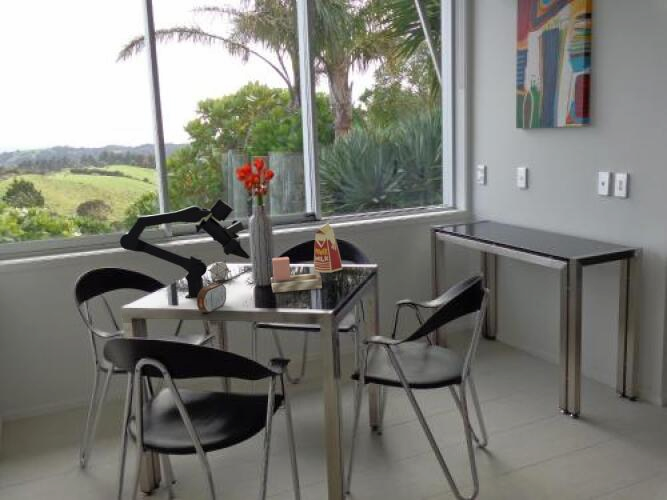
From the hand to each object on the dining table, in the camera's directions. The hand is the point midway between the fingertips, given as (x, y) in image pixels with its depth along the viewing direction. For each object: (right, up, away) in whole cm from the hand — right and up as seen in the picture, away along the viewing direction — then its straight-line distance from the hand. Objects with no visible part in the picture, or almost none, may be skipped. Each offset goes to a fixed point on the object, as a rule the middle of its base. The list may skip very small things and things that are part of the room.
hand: (249, 257), depth 246 cm
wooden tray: (+17, -11, +4) cm, 21 cm away
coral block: (+12, -10, +3) cm, 16 cm away
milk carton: (+29, -6, +31) cm, 43 cm away
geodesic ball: (-15, -10, +25) cm, 30 cm away
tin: (-9, -17, -22) cm, 30 cm away
